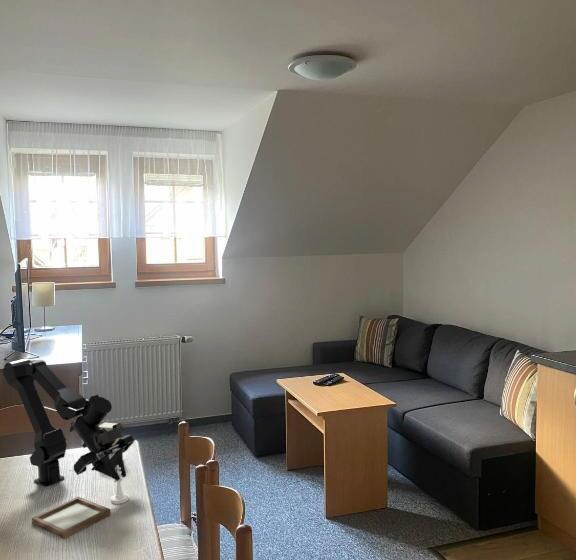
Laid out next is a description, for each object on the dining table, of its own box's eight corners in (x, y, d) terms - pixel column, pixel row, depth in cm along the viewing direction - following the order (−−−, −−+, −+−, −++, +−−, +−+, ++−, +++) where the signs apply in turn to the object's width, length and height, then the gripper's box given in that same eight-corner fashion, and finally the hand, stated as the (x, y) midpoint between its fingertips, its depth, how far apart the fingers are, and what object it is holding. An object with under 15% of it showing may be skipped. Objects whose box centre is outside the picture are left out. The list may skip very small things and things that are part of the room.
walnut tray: (32, 523, 150) (31, 517, 150) (78, 501, 162) (78, 496, 162) (64, 538, 143) (63, 532, 142) (110, 514, 154) (110, 509, 154)
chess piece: (123, 504, 160) (121, 469, 159) (107, 503, 161) (105, 468, 160) (131, 496, 164) (129, 462, 164) (115, 495, 165) (113, 461, 165)
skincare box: (123, 458, 192) (121, 423, 191) (115, 464, 188) (113, 427, 186) (107, 456, 194) (105, 421, 193) (99, 462, 190) (96, 426, 188)
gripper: (78, 427, 154) (110, 475, 150) (128, 407, 170) (159, 449, 166) (59, 451, 159) (90, 498, 154) (110, 429, 175) (139, 471, 171)
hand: (121, 477), depth 161 cm, fingers closed on chess piece
